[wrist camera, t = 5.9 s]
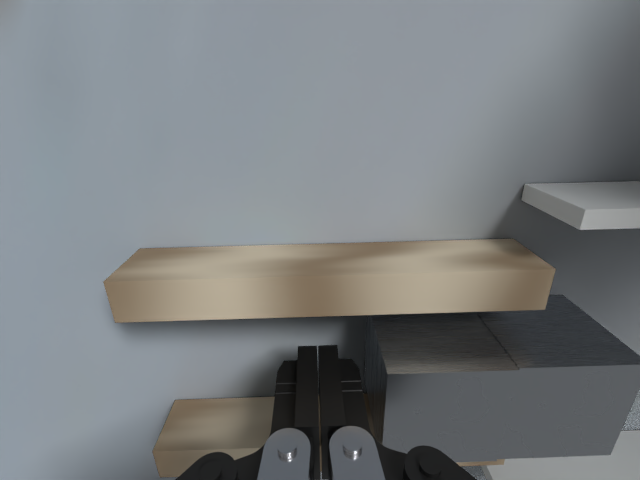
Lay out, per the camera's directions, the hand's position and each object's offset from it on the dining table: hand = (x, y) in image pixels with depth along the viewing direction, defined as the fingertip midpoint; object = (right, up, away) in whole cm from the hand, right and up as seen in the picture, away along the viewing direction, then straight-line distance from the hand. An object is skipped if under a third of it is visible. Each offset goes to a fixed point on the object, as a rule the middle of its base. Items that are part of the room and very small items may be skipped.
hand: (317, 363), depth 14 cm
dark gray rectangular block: (+4, 0, +2) cm, 4 cm away
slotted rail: (0, 0, +1) cm, 2 cm away
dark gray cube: (+8, +1, +2) cm, 8 cm away
